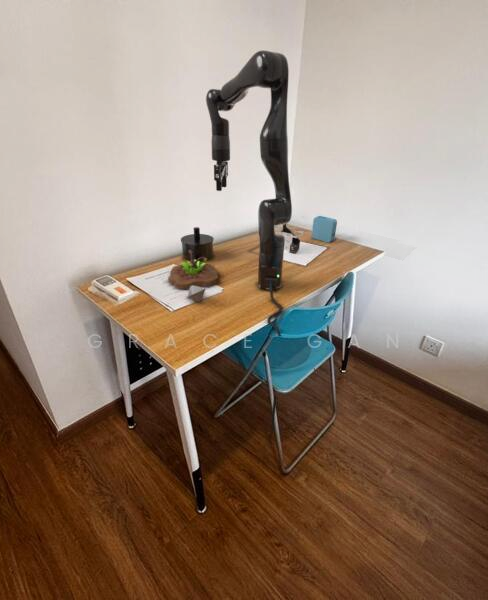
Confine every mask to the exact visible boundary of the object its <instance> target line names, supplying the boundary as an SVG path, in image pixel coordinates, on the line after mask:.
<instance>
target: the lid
mask: <svg viewBox="0 0 488 600" xmlns="http://www.w3.org/2000/svg"><path fill="white" fill-rule="evenodd" d="M211 242H213V243H214V237H213V236H212V235H210V234H205V233H201V230H200V227H198V226H195V227H193V233H191V234H187V235H184V236H182V237H180V243H181V244H182V243H184V244H187V245H196V246H197V245H206V244H209V243H211Z"/></svg>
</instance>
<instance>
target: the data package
mask: <svg viewBox="0 0 488 600" xmlns="http://www.w3.org/2000/svg"><path fill="white" fill-rule="evenodd" d="M312 221H313V222H312V229H311V238H312V239H314V240H318V241H321V242H325V243H328V244H329V243H331V242H333V241H334V240H335V238H336V233H337V232H336V231H337V226H338V220H337V219H336V218H331V217H327V216H323V215H317V216H315V217H314V218H313V220H312Z"/></svg>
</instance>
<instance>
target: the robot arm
mask: <svg viewBox="0 0 488 600" xmlns="http://www.w3.org/2000/svg"><path fill="white" fill-rule="evenodd" d="M289 70H290V69H289V62H288V59H287V57H286V55H285V54H283V53H280V52H275V51H269V50H257V51H256V52H255V53H253V55H252V56H251V57H250V58H249V59H248V60H247V62H246V63H245V64H244V65H243V67H242V68H241V69H240V71H238V73H237V74H236V75H235V76H234V77H233V78H231V79H229V80H228V81H227V82H225V83H224V84H223V85H222V87H221V89H220V88H219V89H217V88H210V89H209V90H208V91H207V93H206V96H205V103H206V107H207V111H208V114H209V115H208V116H209V119H210V123H211V124H210V125H211V141H210V142H211V160H212V161H215V162H216V163H215V164H214V165H213V180H214V181H215V189H216V191H217V192H222V190H223V188H227V187H228V184H227V183H228V181H227V178H228V176H229V161H230V160H231V140H230V121H229V119H227V118H224V117H222V116H221V115H220V112H230V111H231V110H233V108H234V107H235V106H236V104H238V103H239V102H241V101H242V100H244V99H245V98H246V97H248V96H247V95H248V94H249V90H250V89H251V88H257V87H258V88H260V89H261V88H262V89H267V90H268V89H270V106H269V110H268V114H267V116H266V118H265V121H264V122H263V125H262V128H261V130H260V133H259V153H260V160H261V162H262V164H263V166H264V168H265V170H266V172H267V174H268V175H269V177H270V178H271V180H272V183H273V188H274V196H275V198H267V199H263V200H261V202H260V203H259V205H258V210H257V211H258V212H257V223H258V226H257V227H258V228H257V231H258V238H259V246H258V247H259V249H258V268H257V269H258V271H257V272H258V273H257V286H258V288H260V290H262V291H263V290H265V291H269V295H270V300H271V302H272V303H273V304H274V305H276V306H277V307H278V308H279V309H278V310H277V311H276V312H273V313H272V314H270V315H269V316H268V318H267V324H268V325H269V326H271V327H272V328H273V329H275V331H276V332H277V336H278V337H280V338H281V337H282V333H281V330H280V328H279V327H278V326H277V325H276V324H275V323H273V322H271V319H273V318H274V317H275V316H277V315H279V314H280V313H281V312H282V310H283V306H282V305H281V304H280V303H278V302H277V301H276V300H275V298H274V293H273V292H277V290H279V289H280V288H282V285H283V283H282V281H283V280H282V279H283V267H284V260H283V256H284V244H285V237H284V236H283V235H282V234H279V232H276V231H275V227H276V226H283V224H286V225H287V224H289V223H290V221H291V219H292V216H293V205H292V195H291V188H290V187H291V186H290V175H289V141H288V140H289V138H288V137H289V136H288V96H289V77H290V76H289V75H290V71H289ZM272 400H273V402H272V404H273V405H272V414H271V423H270V438H273V437H274V430H275V429H274V426H275V417H276V405H277V396H276V395H274V396H273V399H272Z"/></svg>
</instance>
